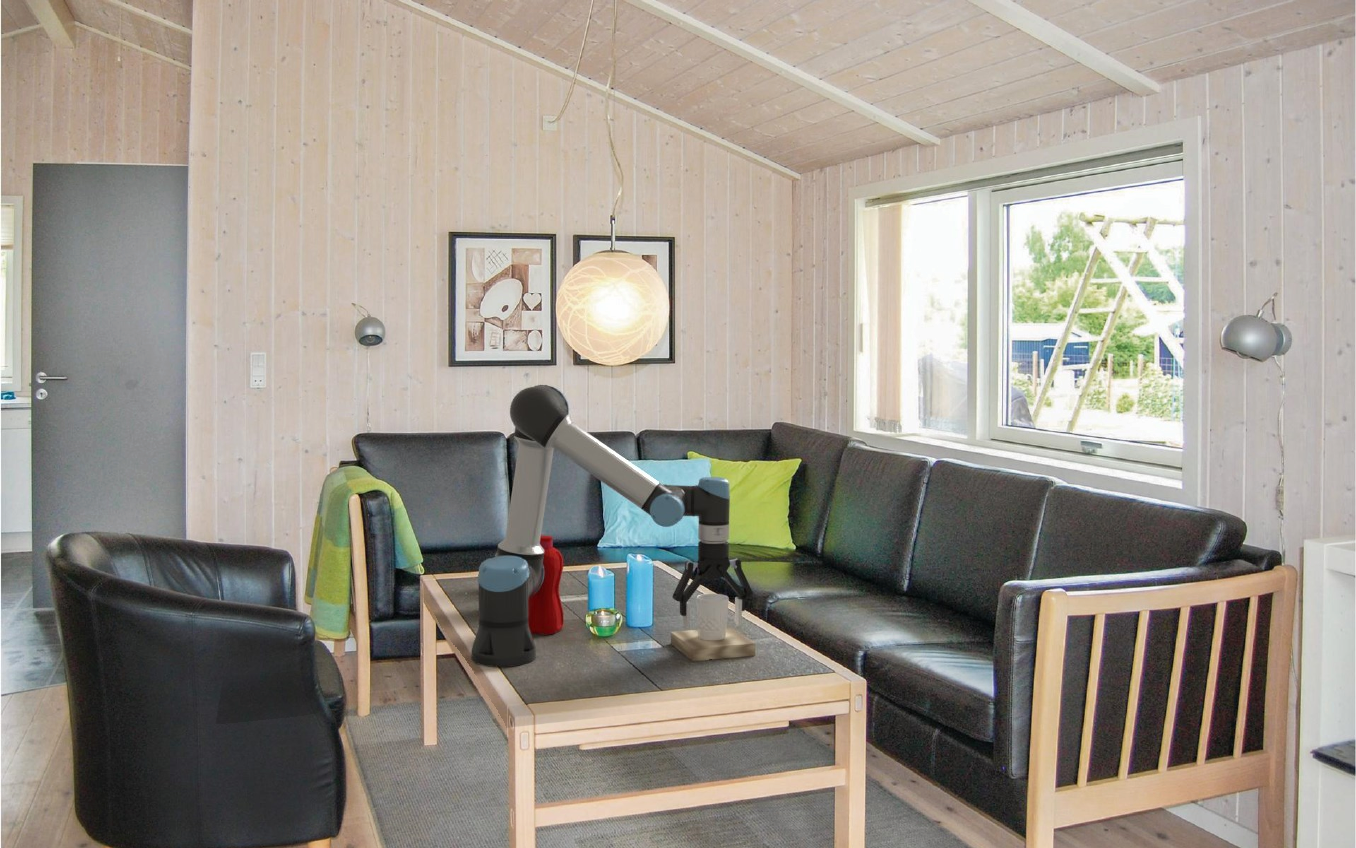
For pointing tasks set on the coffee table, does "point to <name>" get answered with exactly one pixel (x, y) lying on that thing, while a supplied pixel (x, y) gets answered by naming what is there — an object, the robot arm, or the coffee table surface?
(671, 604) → the coffee table surface
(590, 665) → the coffee table surface
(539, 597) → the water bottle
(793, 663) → the coffee table surface
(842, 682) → the coffee table surface
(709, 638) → the white cup
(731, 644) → the wooden base
